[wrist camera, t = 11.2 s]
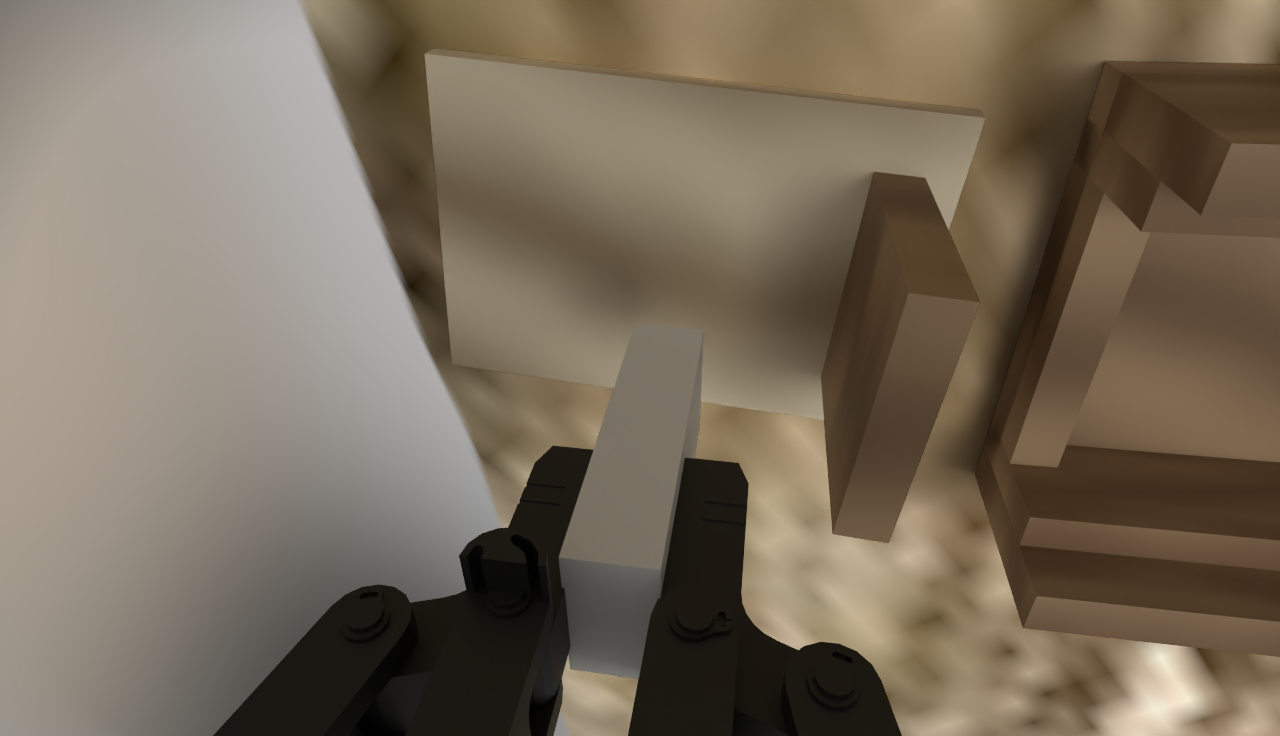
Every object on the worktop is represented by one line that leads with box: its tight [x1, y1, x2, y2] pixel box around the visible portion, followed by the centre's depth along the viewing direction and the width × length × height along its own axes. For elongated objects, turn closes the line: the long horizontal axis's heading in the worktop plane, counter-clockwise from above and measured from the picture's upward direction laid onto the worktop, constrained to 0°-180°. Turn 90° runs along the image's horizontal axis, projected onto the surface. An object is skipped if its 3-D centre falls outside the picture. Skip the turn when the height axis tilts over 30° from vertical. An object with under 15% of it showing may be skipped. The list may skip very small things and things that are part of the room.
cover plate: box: [425, 48, 986, 543], centre depth 18 cm, size 9×13×7 cm
